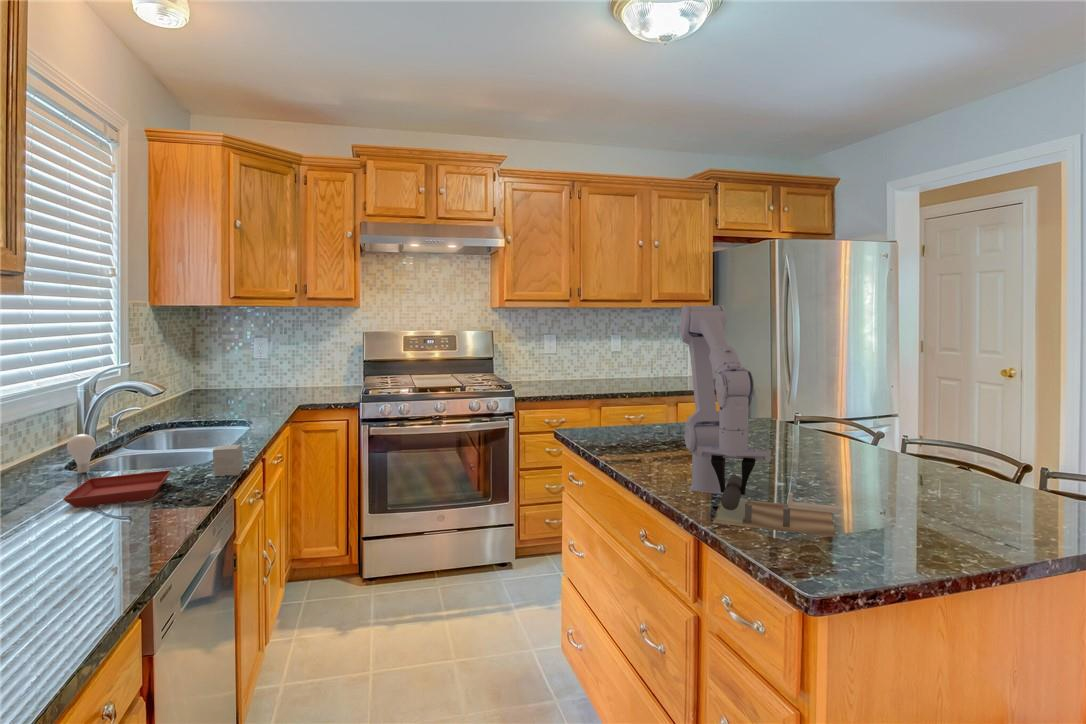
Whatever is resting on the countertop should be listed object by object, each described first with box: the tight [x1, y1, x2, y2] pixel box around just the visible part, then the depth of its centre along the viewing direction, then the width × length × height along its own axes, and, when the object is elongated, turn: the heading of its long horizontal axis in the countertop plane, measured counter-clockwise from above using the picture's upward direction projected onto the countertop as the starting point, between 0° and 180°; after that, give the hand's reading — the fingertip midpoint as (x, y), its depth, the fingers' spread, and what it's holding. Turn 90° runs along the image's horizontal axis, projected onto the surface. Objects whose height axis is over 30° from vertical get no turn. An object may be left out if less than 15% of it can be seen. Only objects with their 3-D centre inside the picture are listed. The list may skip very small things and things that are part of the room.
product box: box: [212, 443, 244, 477], centre depth 162 cm, size 6×6×7 cm
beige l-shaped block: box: [787, 491, 843, 514], centre depth 113 cm, size 2×9×3 cm, turn 67°
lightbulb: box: [66, 433, 97, 475], centre depth 164 cm, size 6×6×11 cm
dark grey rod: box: [720, 475, 742, 510], centre depth 125 cm, size 14×3×3 cm, turn 157°
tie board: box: [712, 497, 837, 538], centre depth 121 cm, size 17×22×4 cm
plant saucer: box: [62, 470, 172, 508], centre depth 144 cm, size 18×18×3 cm
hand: (732, 492), depth 125 cm, fingers closed on dark grey rod, 3 cm apart
